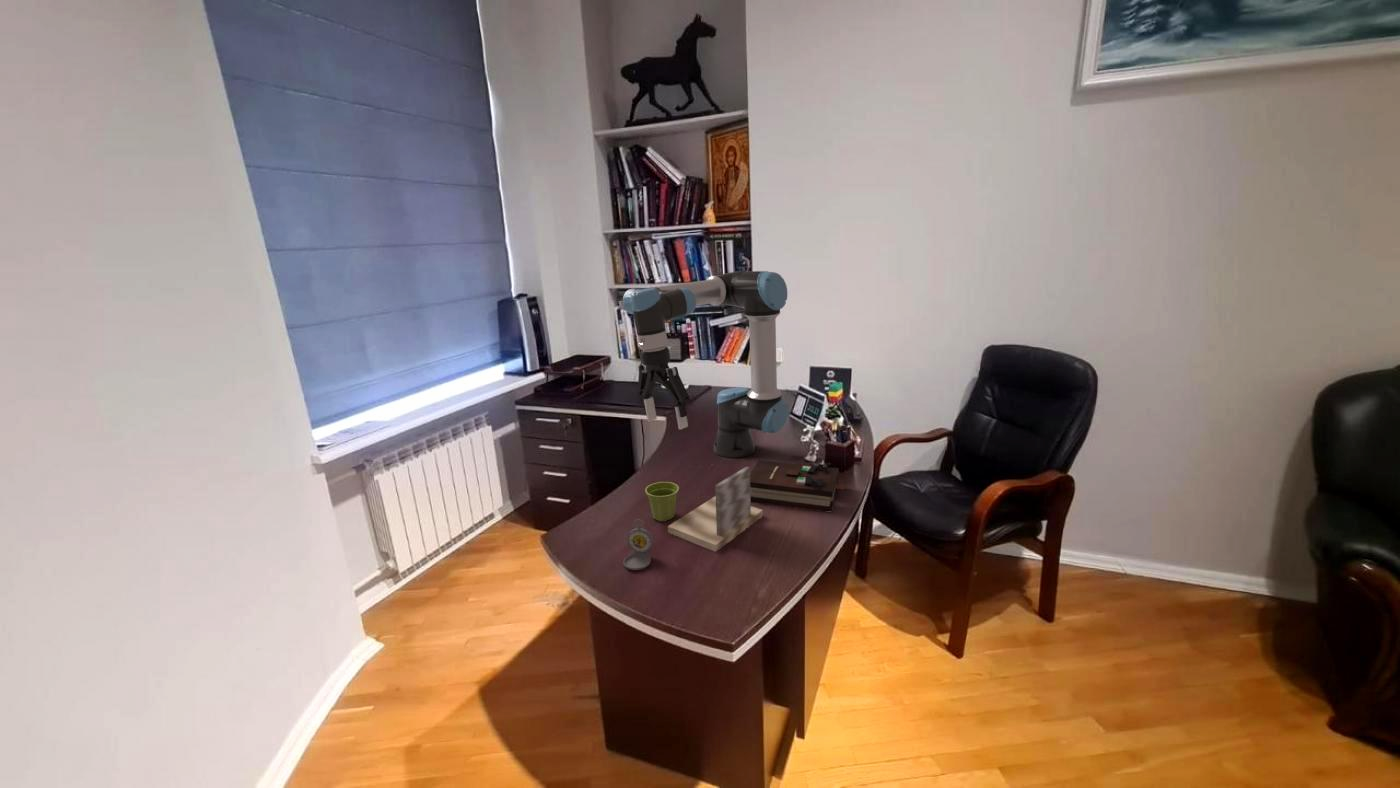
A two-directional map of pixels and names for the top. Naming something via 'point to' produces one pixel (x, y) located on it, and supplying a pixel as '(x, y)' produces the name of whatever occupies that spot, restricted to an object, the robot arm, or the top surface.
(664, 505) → the plant pot
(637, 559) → the pocket watch
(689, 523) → the shelf board
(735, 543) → the top surface
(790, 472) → the decorative book
